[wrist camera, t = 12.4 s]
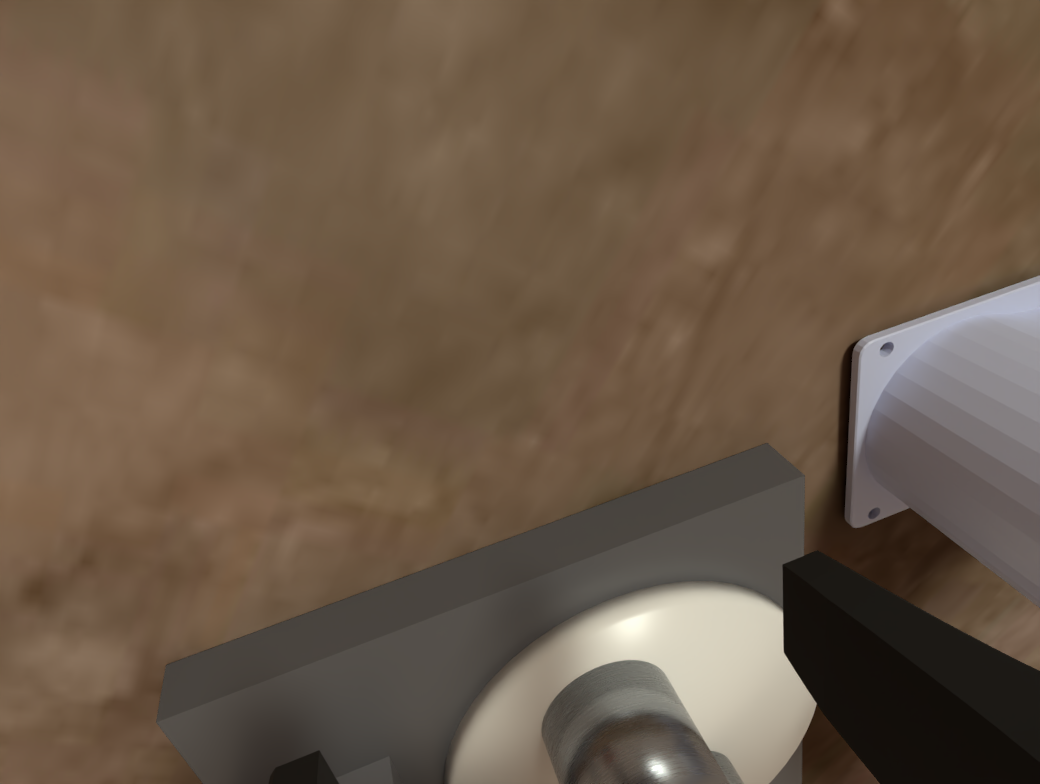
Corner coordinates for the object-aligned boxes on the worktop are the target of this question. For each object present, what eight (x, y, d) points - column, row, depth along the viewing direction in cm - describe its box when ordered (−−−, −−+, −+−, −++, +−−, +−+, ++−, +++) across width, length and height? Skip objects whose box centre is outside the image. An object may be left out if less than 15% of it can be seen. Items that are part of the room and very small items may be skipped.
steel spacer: (658, 639, 22) (727, 751, 19) (678, 721, 24) (742, 835, 21) (525, 699, 22) (572, 826, 18) (559, 778, 24) (605, 903, 21)
